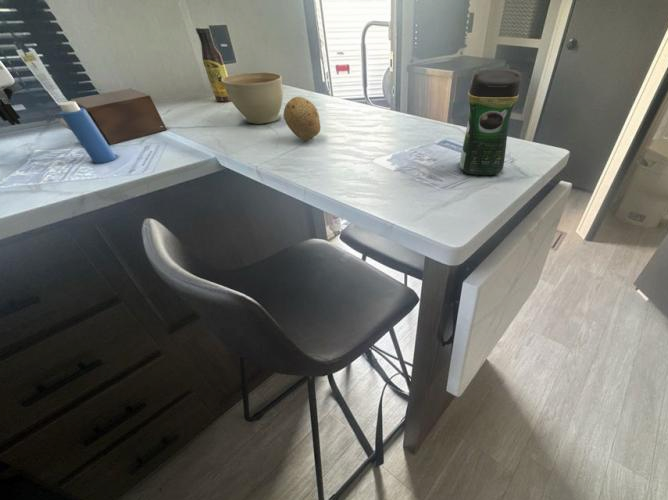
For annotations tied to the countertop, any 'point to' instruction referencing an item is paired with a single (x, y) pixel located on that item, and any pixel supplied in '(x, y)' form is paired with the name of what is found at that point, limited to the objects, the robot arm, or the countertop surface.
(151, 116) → the cabinet
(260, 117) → the planter bowl
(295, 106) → the potato
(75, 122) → the bottle
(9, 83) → the robot arm
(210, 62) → the sauce bottle
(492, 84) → the coffee jar
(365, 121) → the countertop surface
